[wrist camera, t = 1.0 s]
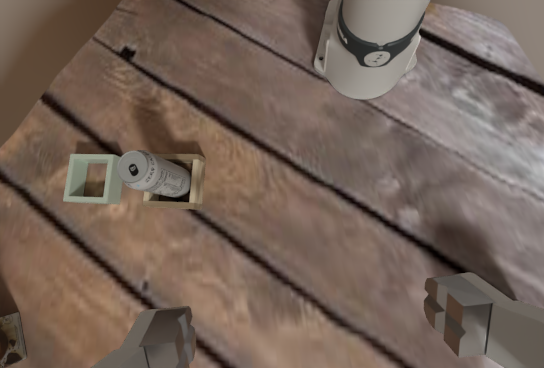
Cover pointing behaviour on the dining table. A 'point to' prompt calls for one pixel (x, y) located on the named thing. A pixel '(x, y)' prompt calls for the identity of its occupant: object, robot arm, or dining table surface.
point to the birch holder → (196, 183)
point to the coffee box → (11, 340)
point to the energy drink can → (153, 174)
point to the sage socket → (78, 179)
